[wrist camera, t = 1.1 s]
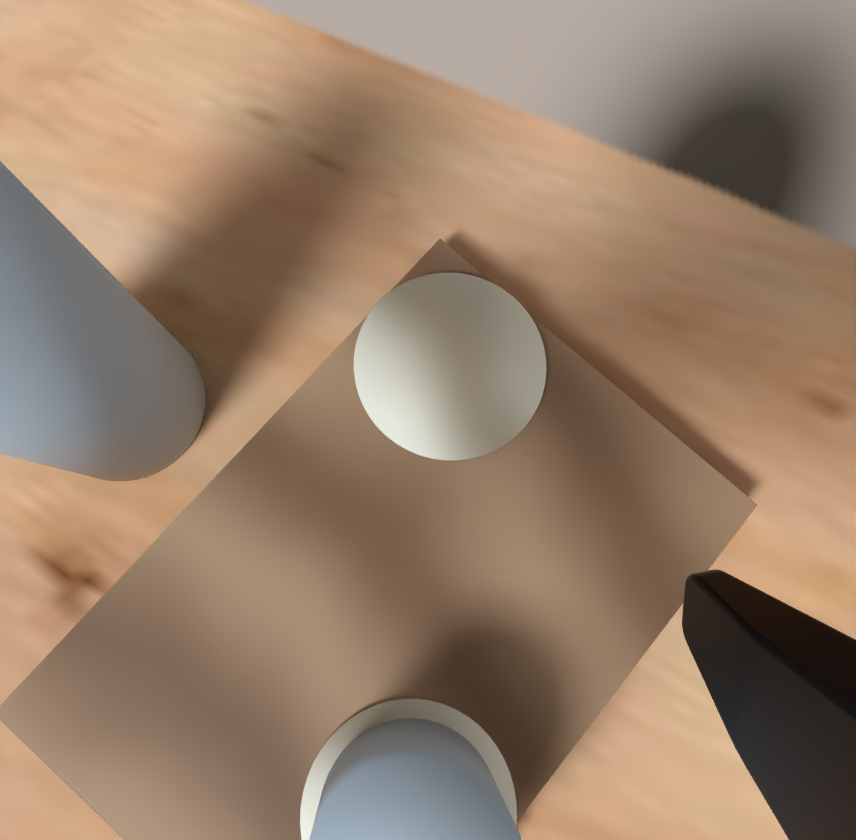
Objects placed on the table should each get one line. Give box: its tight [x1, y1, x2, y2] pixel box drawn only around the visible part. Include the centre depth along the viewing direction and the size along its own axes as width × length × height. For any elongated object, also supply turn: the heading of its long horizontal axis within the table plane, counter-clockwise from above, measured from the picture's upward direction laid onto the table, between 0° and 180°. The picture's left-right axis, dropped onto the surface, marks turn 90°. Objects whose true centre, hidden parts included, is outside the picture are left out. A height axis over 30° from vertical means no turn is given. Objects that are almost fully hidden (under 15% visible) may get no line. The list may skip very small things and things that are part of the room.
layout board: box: [0, 239, 757, 840], centre depth 21 cm, size 19×14×1 cm
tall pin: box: [0, 162, 206, 481], centre depth 16 cm, size 5×5×13 cm
